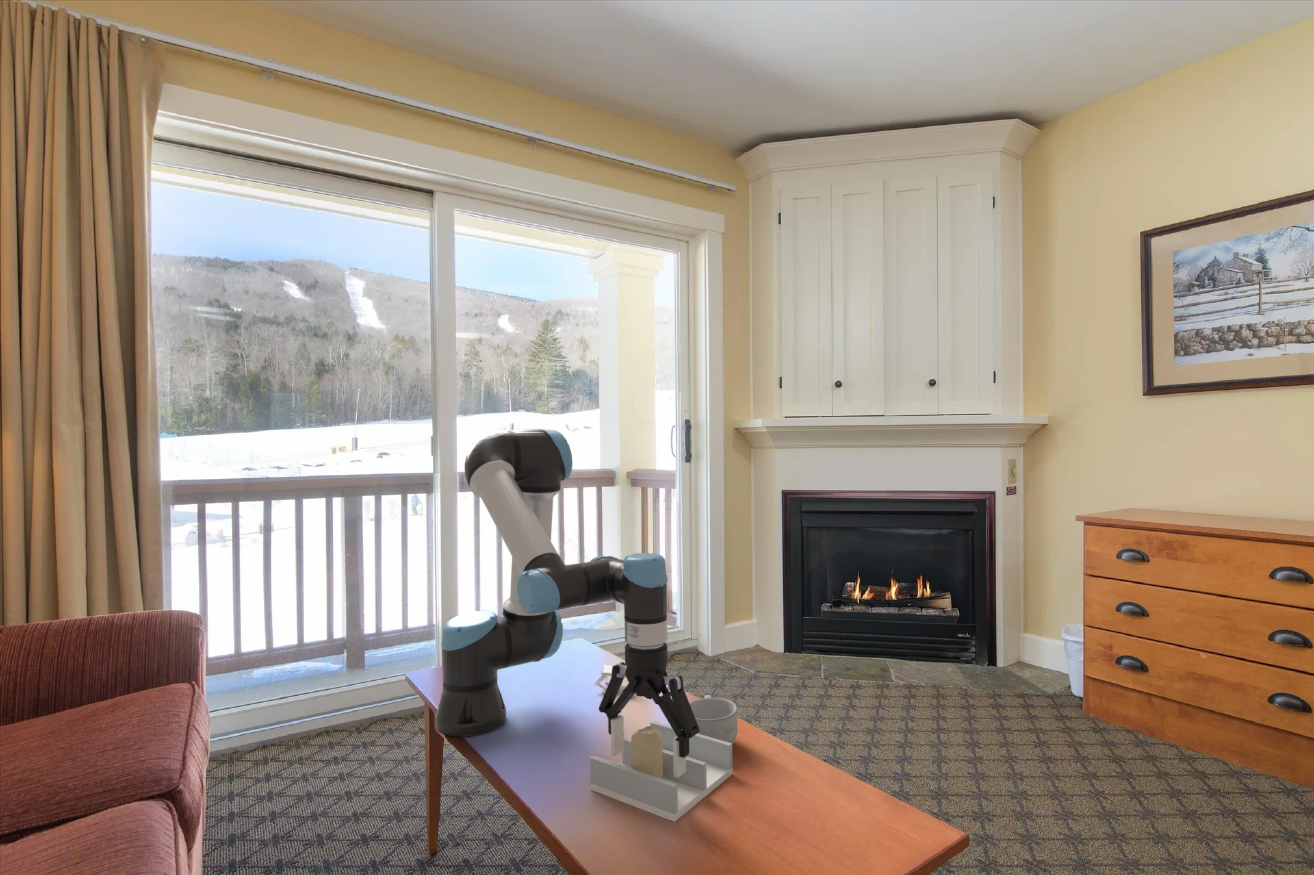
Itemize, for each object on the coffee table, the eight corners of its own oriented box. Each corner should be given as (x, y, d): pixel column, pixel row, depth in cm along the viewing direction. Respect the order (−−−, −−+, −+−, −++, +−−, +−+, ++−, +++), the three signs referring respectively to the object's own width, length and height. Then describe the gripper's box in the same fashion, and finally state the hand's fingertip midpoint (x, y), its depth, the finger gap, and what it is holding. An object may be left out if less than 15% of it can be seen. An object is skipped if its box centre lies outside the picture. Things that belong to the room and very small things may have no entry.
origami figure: (585, 691, 171) (585, 671, 171) (607, 681, 178) (607, 662, 178) (623, 702, 164) (623, 681, 164) (644, 691, 171) (644, 671, 171)
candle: (645, 774, 127) (645, 719, 126) (669, 784, 123) (668, 727, 123) (625, 786, 122) (624, 730, 122) (649, 797, 119) (648, 738, 119)
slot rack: (590, 789, 124) (590, 758, 124) (653, 749, 139) (653, 720, 139) (674, 822, 113) (673, 787, 113) (732, 774, 129) (732, 743, 129)
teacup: (735, 761, 134) (734, 719, 134) (679, 756, 136) (678, 715, 136) (741, 730, 148) (740, 692, 148) (690, 726, 150) (689, 689, 150)
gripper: (578, 637, 127) (580, 753, 127) (694, 662, 112) (696, 793, 112) (605, 627, 133) (607, 738, 133) (718, 649, 118) (720, 774, 118)
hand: (647, 763), depth 123 cm, fingers open, 13 cm apart
